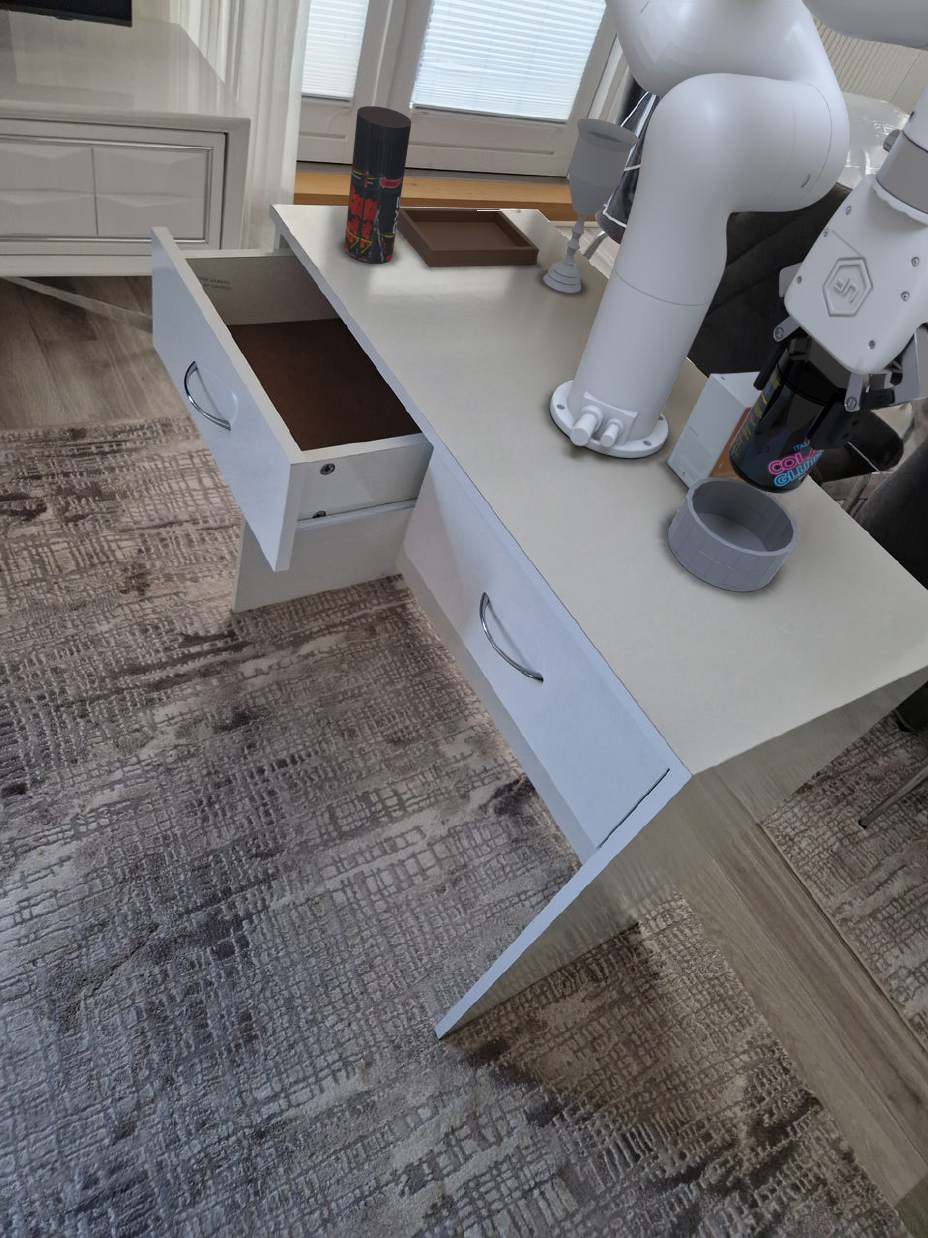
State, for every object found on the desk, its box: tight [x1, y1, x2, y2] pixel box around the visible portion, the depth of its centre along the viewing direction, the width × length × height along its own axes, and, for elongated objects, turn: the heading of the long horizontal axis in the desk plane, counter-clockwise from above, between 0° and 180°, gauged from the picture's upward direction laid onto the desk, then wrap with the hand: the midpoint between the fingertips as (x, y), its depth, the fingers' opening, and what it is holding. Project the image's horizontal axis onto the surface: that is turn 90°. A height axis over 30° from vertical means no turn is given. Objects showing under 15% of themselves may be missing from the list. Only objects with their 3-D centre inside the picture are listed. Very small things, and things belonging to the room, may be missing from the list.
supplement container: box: [728, 337, 872, 494], centre depth 65 cm, size 7×7×10 cm
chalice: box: [542, 117, 640, 294], centre depth 99 cm, size 7×7×18 cm
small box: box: [667, 371, 761, 489], centre depth 79 cm, size 8×6×10 cm
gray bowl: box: [667, 477, 800, 593], centre depth 73 cm, size 10×10×4 cm
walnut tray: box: [396, 206, 540, 268], centre depth 106 cm, size 16×12×2 cm
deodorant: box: [343, 105, 412, 265], centre depth 94 cm, size 6×6×15 cm
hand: (796, 415), depth 64 cm, fingers closed on supplement container, 6 cm apart
